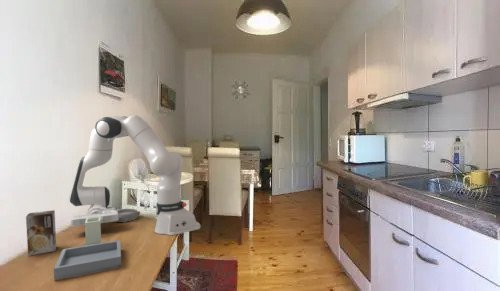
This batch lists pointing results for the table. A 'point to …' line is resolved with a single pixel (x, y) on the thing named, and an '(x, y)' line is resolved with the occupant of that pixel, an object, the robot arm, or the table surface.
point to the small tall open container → (93, 230)
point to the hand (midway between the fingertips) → (94, 222)
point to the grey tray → (88, 260)
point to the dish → (127, 215)
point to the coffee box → (41, 232)
